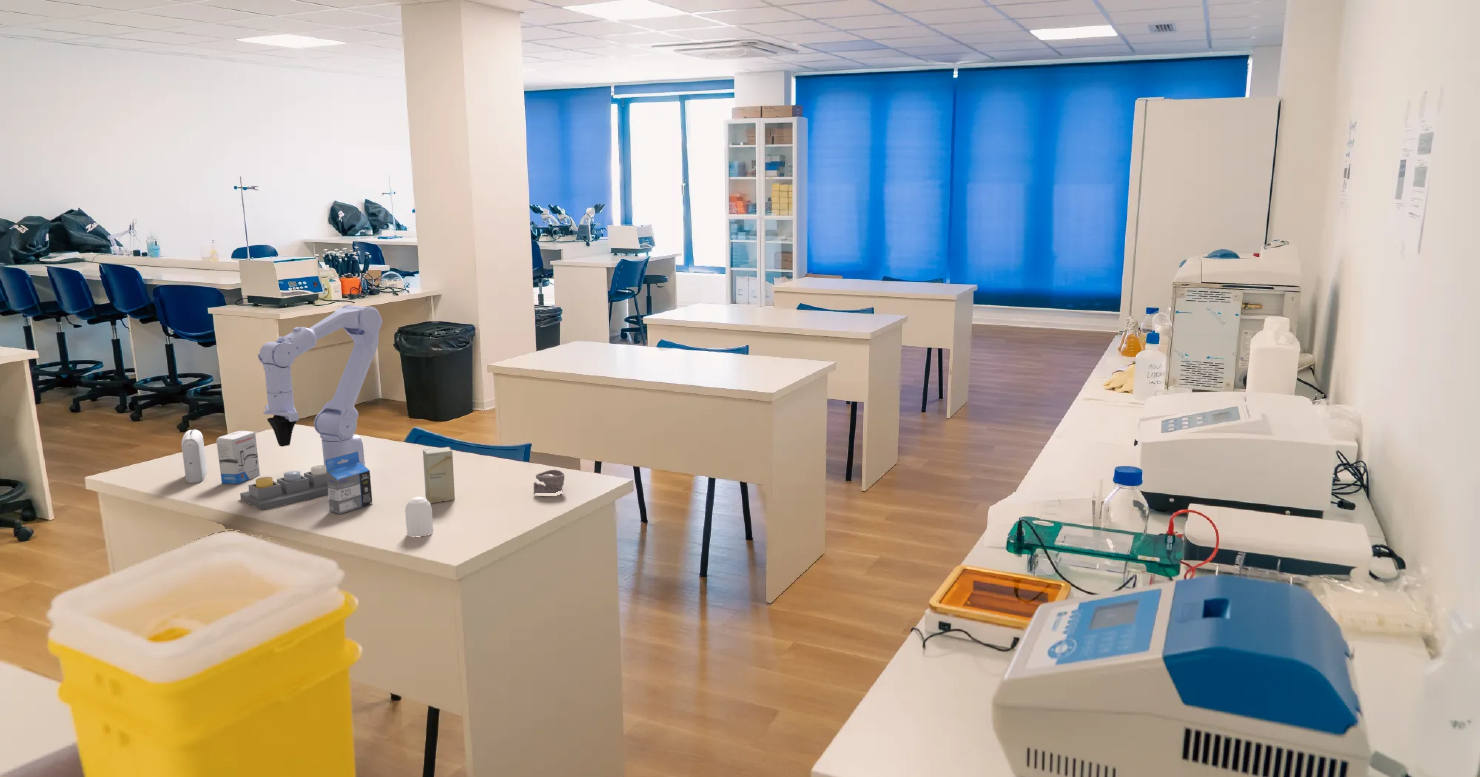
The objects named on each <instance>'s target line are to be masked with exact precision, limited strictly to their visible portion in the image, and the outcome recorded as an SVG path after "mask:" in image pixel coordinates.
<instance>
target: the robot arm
mask: <svg viewBox="0 0 1480 777" xmlns="http://www.w3.org/2000/svg"><path fill="white" fill-rule="evenodd" d="M382 325H383V319H382V316H381V314H380V312H379V310H378V309H377V308H375V307H374V306H363V305H362V306H360V305H353V304H345V305H343V306H342V307H339V308H336V309H335V311H334V312H333V313H331V314H330V315H328V316H327V317H324V318H323V319H321V320H320V321H318V322H317V323H315V324H313V325H312V326H311V327H309V328H308V327H305V326H301V327H300V326H295V327H294V328H292V331H291V332H289V333H288V334H286V335H284V336H279V337H277V340H275V342H274V341H268V342H265V343H264V344H263V345H262V346H261V347H260V350H259V353H258V354H257V358H258V360H259V362H260V363H261V364H262V366H263V371H264V379H265V388H266V399H267V404H266V405H265V406H264V410H263V414H264V415H266V416H267V415H273V416H272V417H268V418H267V422H268V423H269V425H270V426H271V428H272V430H273V433H274V435H275V438H276V441H277V445H278V447H287V446H291V440H292V434H293V430H294V428H295V425H296V423H297V422H298V421H299V420H300V419H299V418H300V417H299V412H297V410H296V407H295V404H294V403H295V402H294V388H293V378H292V367H291V366H292V365H293V364H294V362H295V361H296V360H295V359H296V358H297V357H299V356H301V355H303V354H304V353H306V352H308V351H310V350H311V349H314V348H315V346H317V343H318V342H317V341H318V340H319V339H322V338H324V337H326V336H327V335H330V334H332V333H334V332H336V331H338V330H341V329H343V330H344V331H345V332H346V334H348V336H350V338H351V339H352V341H353V344H354V345H353V346H352V347H353V348H352V350H351V352H350V354H349V357H348V360H347V363H346V364H345V367H344V369H343V372H342V375H341V377H340V380H339V382H338V384H337V387H336V390H335V392H334V395H333V397H332V398H331V400H329V401H328V402H326V403H325V404H324V405H323V406H322V409H321V410H320V411H319V412H318V413H317V414H316V416H315V417H314V420H313V428H314V430H315V432H316V433H317V434H318V435H319V438H320V439H321V448H322V456H323V459H322V460H323V465H325V466H326V463H325V460H327V459H331V458H335V457H338V456H342V455H346V454H350V453H354V452H357V451H358V455H359V462H360V463H362V464H363V465H364V466H365V465H366V464H365V463H366V461H365V451H364V443H363V441H362V440H363V439H362V438H361V437H360V436H359V435H358V434H355V433H356V431H357V427H358V424H357V422H358V417H359V415H360V414H359V412H358V410H357V409H356V407H355V405H356V402H357V400H358V397H359V396H360V392H361V389H362V386H363V384H364V382H365V379H366V377H367V374H368V371H369V369H370V366H371V364H372V361H373V359H374V356H375V354H376V352H377V350H378V349H377V348H378V346H379V340H380V338H379V337H380V330H381V326H382ZM345 462H348V459H347V460H344V459H342V460H341V461H339V462H337V464H341V463H345ZM365 467H366V466H365Z"/></svg>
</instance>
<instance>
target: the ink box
mask: <svg viewBox="0 0 1480 777" xmlns="http://www.w3.org/2000/svg"><path fill="white" fill-rule="evenodd" d="M256 435H257V434H256V431H251V430H250V431H247V430H238V431H234V432H231V433H228V434H225V435H221V436H218V437H217V438H216V446H217V448H216V449H217V455H218V456H217V457H218V464H219V471H220V472H219V473H220V480H221V484H228V485H229V484H232V485H239V484H241V483H242V484H243V483H245V482H247V481H249V480H251V479H254V478H256V477H258V476H261V473H260V464H259V454H258V444H257V438H256V437H257V436H256Z"/></svg>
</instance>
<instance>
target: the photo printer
mask: <svg viewBox="0 0 1480 777" xmlns="http://www.w3.org/2000/svg"><path fill="white" fill-rule="evenodd" d="M203 435H204V434H203V433H202V432H201V431H200V430H198V429H189V430H187V431H186V432H185V433H184V434H183V436H182V438H181V451H182V460H183V466H184V476H185V481H186V483H188V484H197V483H201V482H202V481H204V479H205V478H206V475H207V470H208V469H207V459H206V450H205V443H204V436H203Z"/></svg>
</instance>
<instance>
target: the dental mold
mask: <svg viewBox="0 0 1480 777" xmlns="http://www.w3.org/2000/svg"><path fill="white" fill-rule="evenodd" d="M535 478H536V479H537V480H538V481H539V482H540V483H538V482H536V481H534V482H533V494H534V493H556V492H558V491H561V490H562V491H563V486H564V484H565V473H564V472H563V471H561V470H559V469H549V470H545V471H543V472H539V473H537V474H535ZM541 483H544V484H541Z"/></svg>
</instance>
